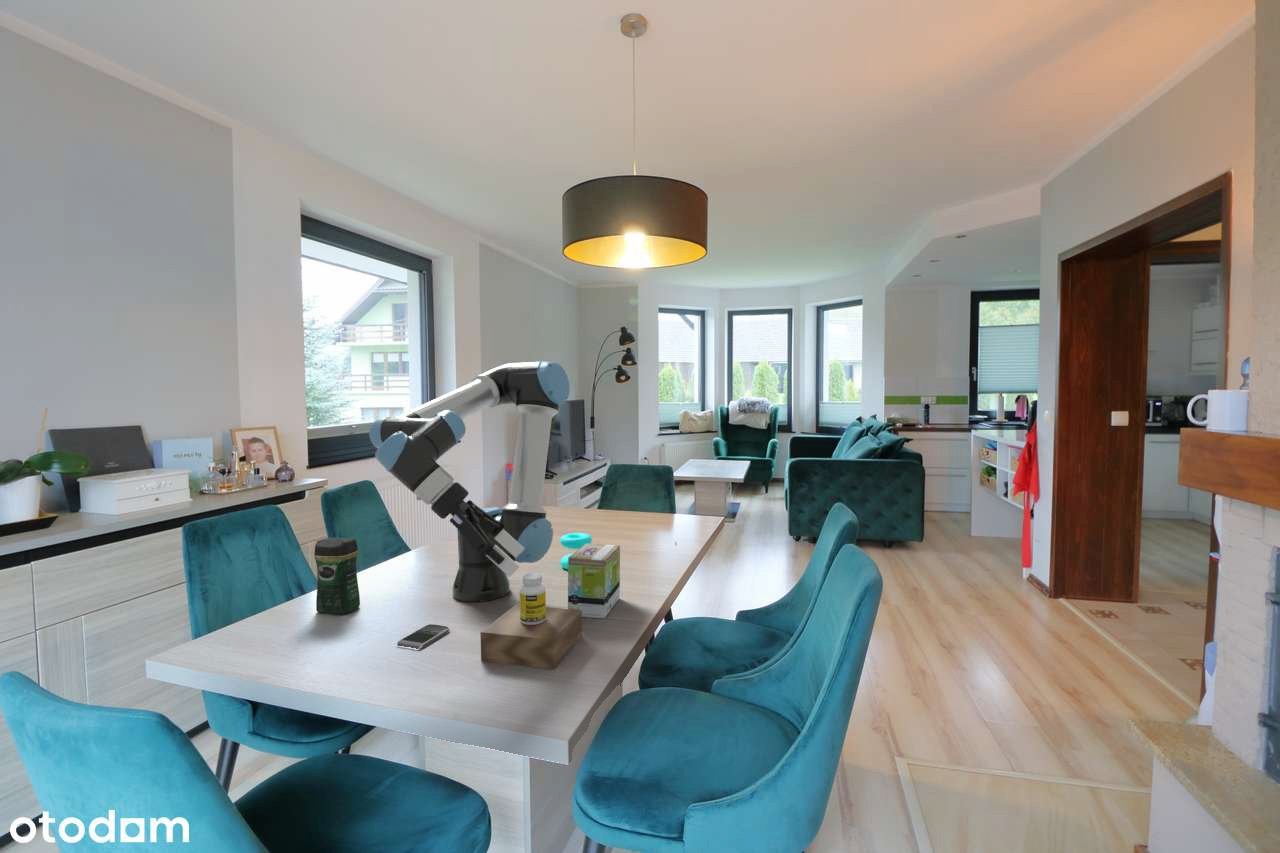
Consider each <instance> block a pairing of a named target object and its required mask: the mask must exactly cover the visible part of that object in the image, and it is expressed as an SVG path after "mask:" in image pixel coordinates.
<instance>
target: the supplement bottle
mask: <svg viewBox="0 0 1280 853" xmlns="http://www.w3.org/2000/svg"><path fill="white" fill-rule="evenodd" d="M522 583H523V584H522V586H520V588H519V605H520V621H521V623H523V624H525V625H537V624H540V623H542V622H544V621H545V619H546V605H547V604H546V598H547V597H546V593H547V592H546V586H545V585H544V584H543V575H542V574H541V573H539V572H538V573H537V572H535V573H534V572H531V573H526V574H524V575H523V576H522Z"/></svg>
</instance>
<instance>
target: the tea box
mask: <svg viewBox="0 0 1280 853" xmlns="http://www.w3.org/2000/svg"><path fill="white" fill-rule="evenodd" d="M571 554H572V555H571V556H570V557H569V558H568V569H567V571H568V573H567V609H573V610H582V618H591V619H605V618H606V617H607V616H608V614H609V613H610V612H611V610H612V608H613V607H614V606H615V605H616V603H617V602H618V600H619V599H620V595H621V591H620V588H621V584H620V583H621V579H620V578H621V576H620V575H621V574H620V573H621V545H616V544H615V545H614V544H602V543H601V544H599V543H591V544H585V545H584V546H582V547H581V548H580V549H576V550H575V552H573V553H571Z"/></svg>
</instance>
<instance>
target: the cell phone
mask: <svg viewBox="0 0 1280 853" xmlns="http://www.w3.org/2000/svg"><path fill="white" fill-rule="evenodd" d="M448 631H449V632H450V627H449V626H445V625H440V624H430V623H429V624H427V625H424V626H423V627H421V628H420V629H417V630H416V631H413V632H412V633H410V634H409V635H406V636H405V637H403V638H401V639H400V640H398V641H397V644H396V646H397V645H398V646H404V647H411V648H416V649H419V650H421V649H420V648H422V647H423V648H425V647H426V645H427V644H428V645H430V644H431V642H432V643H433V642H435V641H436V640H438V639H440V638H441V637H443V636H444V634H445V635H446V634H448V633H449V632H448ZM447 632H448V633H447ZM442 635H443V636H442ZM439 637H440V638H439ZM437 638H438V639H437ZM434 640H435V641H434ZM429 643H430V644H429ZM428 645H427V646H428ZM398 646H397V647H398ZM424 646H425V647H424ZM423 648H422V649H423Z"/></svg>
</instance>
